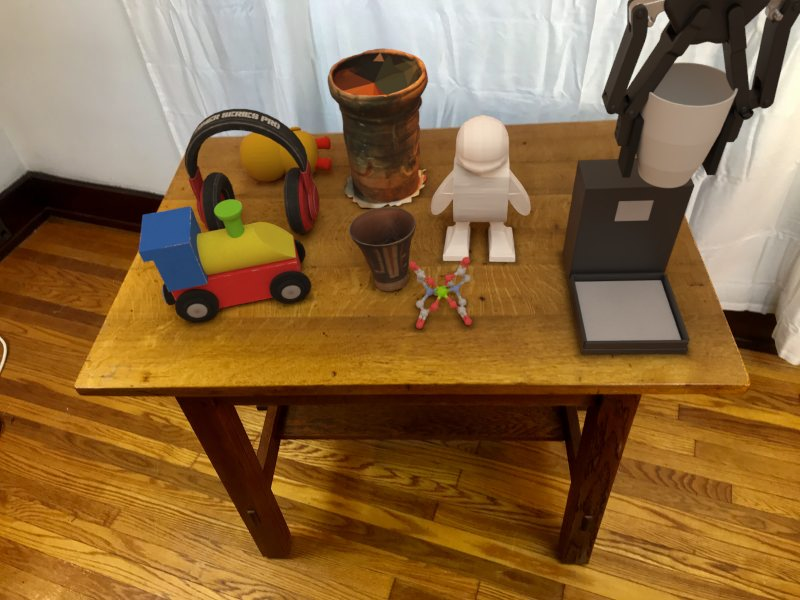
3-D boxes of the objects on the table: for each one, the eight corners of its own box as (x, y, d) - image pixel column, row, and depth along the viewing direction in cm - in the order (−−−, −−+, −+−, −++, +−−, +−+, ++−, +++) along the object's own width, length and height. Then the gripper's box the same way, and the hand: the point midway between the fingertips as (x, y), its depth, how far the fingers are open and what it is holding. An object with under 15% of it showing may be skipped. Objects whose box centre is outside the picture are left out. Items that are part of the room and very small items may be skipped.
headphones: (324, 205, 100) (301, 90, 85) (319, 247, 93) (293, 130, 78) (217, 211, 101) (176, 98, 86) (204, 253, 94) (157, 138, 79)
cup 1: (389, 246, 92) (383, 191, 85) (432, 274, 87) (430, 219, 80) (344, 277, 88) (333, 223, 81) (387, 309, 84) (380, 255, 76)
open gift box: (686, 354, 75) (728, 258, 64) (581, 355, 76) (604, 261, 64) (651, 252, 87) (681, 156, 76) (562, 254, 88) (577, 160, 77)
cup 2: (723, 183, 63) (758, 92, 55) (655, 206, 61) (681, 115, 54) (671, 143, 68) (696, 55, 60) (607, 163, 66) (625, 74, 59)
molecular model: (411, 290, 86) (407, 251, 80) (468, 286, 85) (469, 246, 80) (413, 330, 81) (410, 291, 75) (474, 326, 80) (475, 286, 75)
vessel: (433, 210, 97) (429, 92, 82) (342, 215, 98) (322, 99, 83) (430, 157, 107) (426, 43, 92) (348, 161, 107) (330, 49, 93)
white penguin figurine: (430, 260, 89) (424, 140, 75) (434, 220, 95) (429, 101, 81) (528, 262, 88) (542, 139, 73) (525, 221, 94) (538, 100, 79)
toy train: (171, 286, 89) (130, 204, 78) (308, 259, 91) (287, 175, 80) (168, 332, 83) (124, 251, 72) (315, 302, 85) (293, 218, 74)
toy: (332, 135, 108) (246, 139, 108) (327, 116, 100) (233, 121, 99) (334, 186, 107) (247, 190, 107) (329, 171, 99) (235, 175, 99)
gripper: (858, -105, 49) (756, 144, 66) (592, -89, 51) (559, 150, 67) (906, -74, 44) (782, 188, 61) (609, -56, 45) (568, 193, 62)
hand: (665, 168), depth 64 cm, fingers closed on cup 2, 8 cm apart
